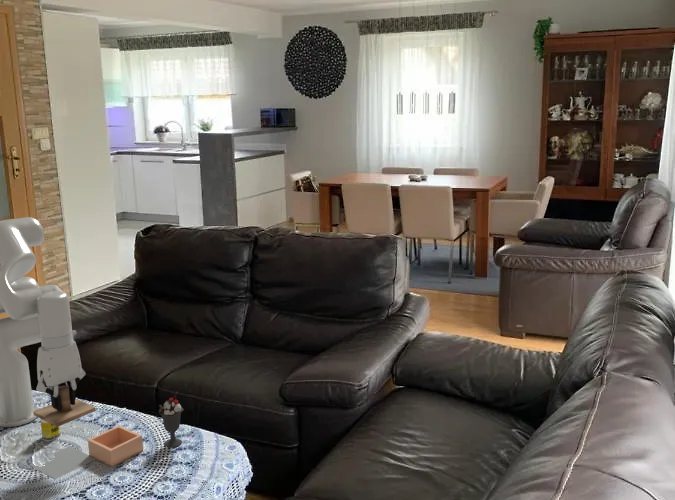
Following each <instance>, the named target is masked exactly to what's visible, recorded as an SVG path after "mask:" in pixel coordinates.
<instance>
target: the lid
mask: <svg viewBox="0 0 675 500" xmlns="http://www.w3.org/2000/svg"><path fill="white" fill-rule="evenodd" d="M58 395H59V396H60V397H61V405H62V409H61V410H60V411H58V410H56V409H54V408H53V407H52V404H49V405H47V406H44V407H41V408H39V410H36V411H33V413H34V415H35V416H36V417H37V418H38V419H40V420H41V419H42V420H44V421H46V422H48V423H50V424H52V425H54V426H56V427H58V426H59V427H60V426H62V425H65V424H68V423H70V422H72V421H75V420H77V419H80V418H82V417H84V416H87V415H88V414H91V413H94V412H96V410H97V409H96V407H95V405H92V404H88V403H87V402H85V401H82V400H80V399H78V398H76V399H75V405H71V403H70V393H69V386H67V385H60V386H59V385H58Z"/></svg>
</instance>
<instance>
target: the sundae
mask: <svg viewBox="0 0 675 500" xmlns="http://www.w3.org/2000/svg"><path fill="white" fill-rule="evenodd" d="M178 393H179V392H178V391H175V393H174V395H173V396H172V397H170V398H169V399H168V400H166V401H165V402H164V403H163V406H162V404H159V405H158V406H159V410H158V412H157V414H159V416H161V418H162V423H163V427H164V430H165V431H166V432H168V433H170V434H169V435H170V439H167V440H166V441H165V442H164V443H163V445H164V447H166V448H169V449H172V448H177V447H180V446H181V445H182V444H183V440H182V439H180V438H176V434H175V433H176V432H177V431H178V430H179V429H180V426H181V425H180V424H181V415H182V412H183V411H184V408H183V406H182V405H181V404H180V403H179V400H177V394H178ZM174 397H175V399H174Z"/></svg>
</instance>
